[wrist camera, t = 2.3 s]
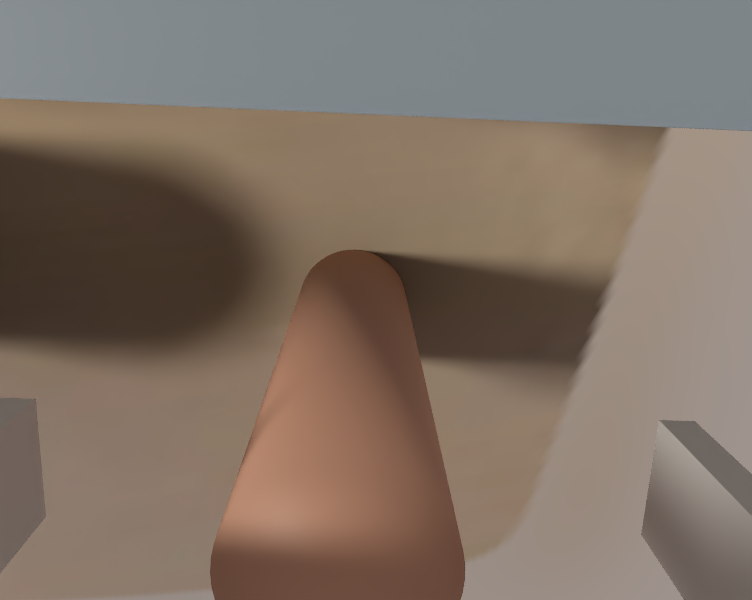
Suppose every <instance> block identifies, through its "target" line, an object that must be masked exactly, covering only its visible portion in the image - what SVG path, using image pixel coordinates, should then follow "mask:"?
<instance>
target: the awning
mask: <svg viewBox="0 0 752 600" xmlns="http://www.w3.org/2000/svg"><path fill="white" fill-rule="evenodd" d="M0 98H10V99H33V100H56V101H78V102H101V103H124V104H147V105H170V106H193V107H216V108H238V109H261V110H284V111H307V112H330V113H353V114H376V115H398V116H421V117H444V118H467V119H490V120H513V121H535V122H558V123H581V124H604V125H627V126H650V127H673V128H695V129H718V130H719V129H720V130H741V131H752V0H0Z"/></svg>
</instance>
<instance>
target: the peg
mask: <svg viewBox="0 0 752 600" xmlns="http://www.w3.org/2000/svg"><path fill="white" fill-rule="evenodd" d="M210 575H211V585H212V590H213V594H214V598H215V600H460V599H461V596H462V593H463V587H464V581H465V561H464V554H463V548H462V544H461V539H460V535H459V530H458V526H457V521H456V517H455V512H454V508H453V503H452V499H451V494H450V490H449V485H448V481H447V477H446V472H445V468H444V463H443V459H442V454H441V450H440V445H439V441H438V436H437V432H436V427H435V423H434V418H433V414H432V409H431V405H430V400H429V396H428V392H427V387H426V383H425V378H424V374H423V369H422V365H421V360H420V356H419V351H418V347H417V342H416V338H415V333H414V329H413V324H412V320H411V315H410V311H409V307H408V302H407V298H406V293H405V289H404V286H403V283H402V281H401V278H400V277H399V275H398V273H397V272H396V271H395V269H394V268H393V267H392V266H391V265H390V264H389V263H388V262H387V261H385V260H384V259H382V258H381V257H379V256H377V255H375V254H372V253H370V252H366V251H361V250H345V251H340V252H337V253H333V254H331V255H329V256H327V257H325V258H324V259H322V260H321V261H320V262H318V263H317V264H316V265H315V266H314V267H313V268H312V269H311V271H310V272H309V273H308V275H307V277H306V279H305V281H304V283H303V286H302V289H301V292H300V295H299V297H298V300H297V303H296V306H295V309H294V312H293V315H292V318H291V321H290V324H289V327H288V330H287V332H286V335H285V338H284V341H283V344H282V347H281V350H280V353H279V356H278V359H277V362H276V364H275V367H274V370H273V373H272V376H271V379H270V382H269V385H268V388H267V391H266V394H265V396H264V399H263V402H262V405H261V408H260V411H259V414H258V417H257V420H256V423H255V426H254V429H253V431H252V434H251V437H250V440H249V443H248V446H247V449H246V452H245V455H244V458H243V461H242V463H241V466H240V469H239V472H238V475H237V478H236V481H235V484H234V487H233V490H232V493H231V495H230V498H229V501H228V504H227V507H226V510H225V513H224V516H223V519H222V522H221V525H220V528H219V530H218V533H217V536H216V539H215V542H214V546H213V551H212V555H211V567H210Z"/></svg>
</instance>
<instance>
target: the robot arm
mask: <svg viewBox="0 0 752 600" xmlns="http://www.w3.org/2000/svg"><path fill="white" fill-rule="evenodd" d="M45 517H46V513H45V502H44V490H43V479H42V467H41V456H40V444H39V433H38V421H37V410H36V399H23V398H0V573H1V572H2V570H3V569H4V568H5V567H6V565H7V564H8V563H9V562H10V560H11V559H12V558H13V557H14V555H15V554H16V553H17V552H18V550H19V549H20V548H21V547H22V545H23V544H24V543H25V542H26V540H27V539H28V538H29V537H30V536H31V534H32V533H33V532H34V531H35V529H36V528H37V527H38V526H39V524H40V523H41V522H42V521H43V519H44V518H45ZM641 535H642V536H643V538H644V539H645V541H646V542H647V544H648V545H649V547H650V548H651V550H652V551H653V553H654V555H655V556H656V558H657V559H658V561H659V562H660V564H661V565H662V567H663V568H664V570H665V571H666V573H667V574H668V576H669V577H670V579H671V580H672V582H673V583H674V585H675V586H676V588H677V590H678V591H679V592H680V594H681V596H682V597H683V598H684V600H752V474H751V473H750V472H749V471H748V470H747V469H746V468H745V467H743V466H742V465H741V464H740V463H739V462H738V461H737V460H736V459H735V458H734V457H733V456H732V455H730V454H729V453H728V452H727V451H726V450H725V449H724V448H723V447H722V446H721V445H720V444H719V443H718V442H716V441H715V440H714V439H713V438H712V437H711V436H710V435H709V434H708V433H707V432H706V431H705V430H703V429H702V428H701V427H700V426H699V425H698V424H697V423H696V422H695V421H667V420H666V421H665V420H659V425H658V431H657V438H656V444H655V450H654V457H653V463H652V469H651V476H650V482H649V489H648V495H647V501H646V508H645V515H644V520H643V527H642V533H641Z"/></svg>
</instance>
